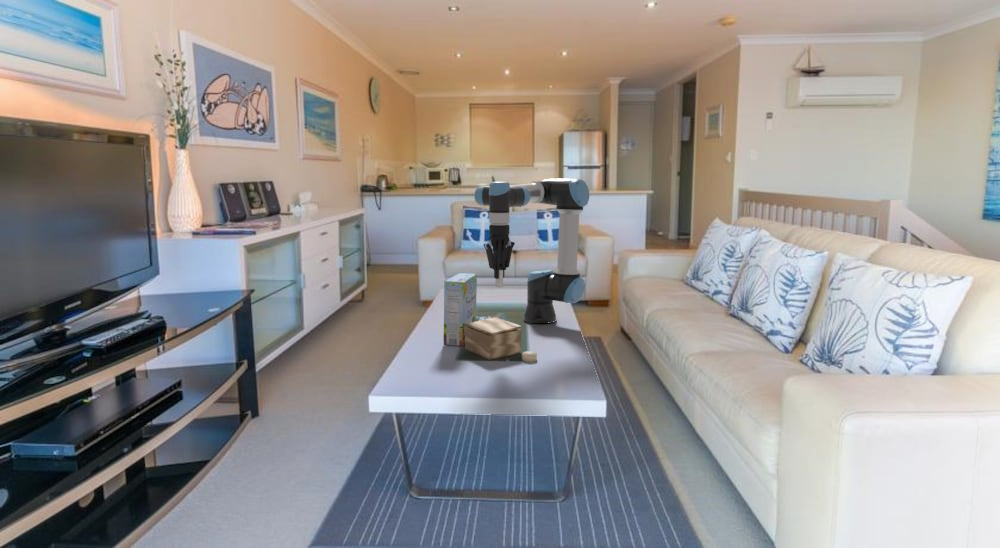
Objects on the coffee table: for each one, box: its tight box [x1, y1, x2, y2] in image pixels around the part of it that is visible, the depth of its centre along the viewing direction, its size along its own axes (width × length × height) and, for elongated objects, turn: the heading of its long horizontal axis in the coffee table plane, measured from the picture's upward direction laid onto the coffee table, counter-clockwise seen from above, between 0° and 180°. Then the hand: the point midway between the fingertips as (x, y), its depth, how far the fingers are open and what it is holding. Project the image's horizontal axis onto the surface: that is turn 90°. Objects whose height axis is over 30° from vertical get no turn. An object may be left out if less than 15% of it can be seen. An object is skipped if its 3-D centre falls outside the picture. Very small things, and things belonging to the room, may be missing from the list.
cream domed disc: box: [521, 350, 538, 363], centre depth 206 cm, size 5×5×2 cm
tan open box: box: [464, 326, 522, 361], centre depth 215 cm, size 15×16×9 cm
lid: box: [465, 316, 522, 335], centre depth 214 cm, size 14×17×1 cm
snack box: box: [443, 272, 478, 347], centre depth 230 cm, size 22×9×26 cm, turn 168°
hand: (499, 286), depth 214 cm, fingers closed
